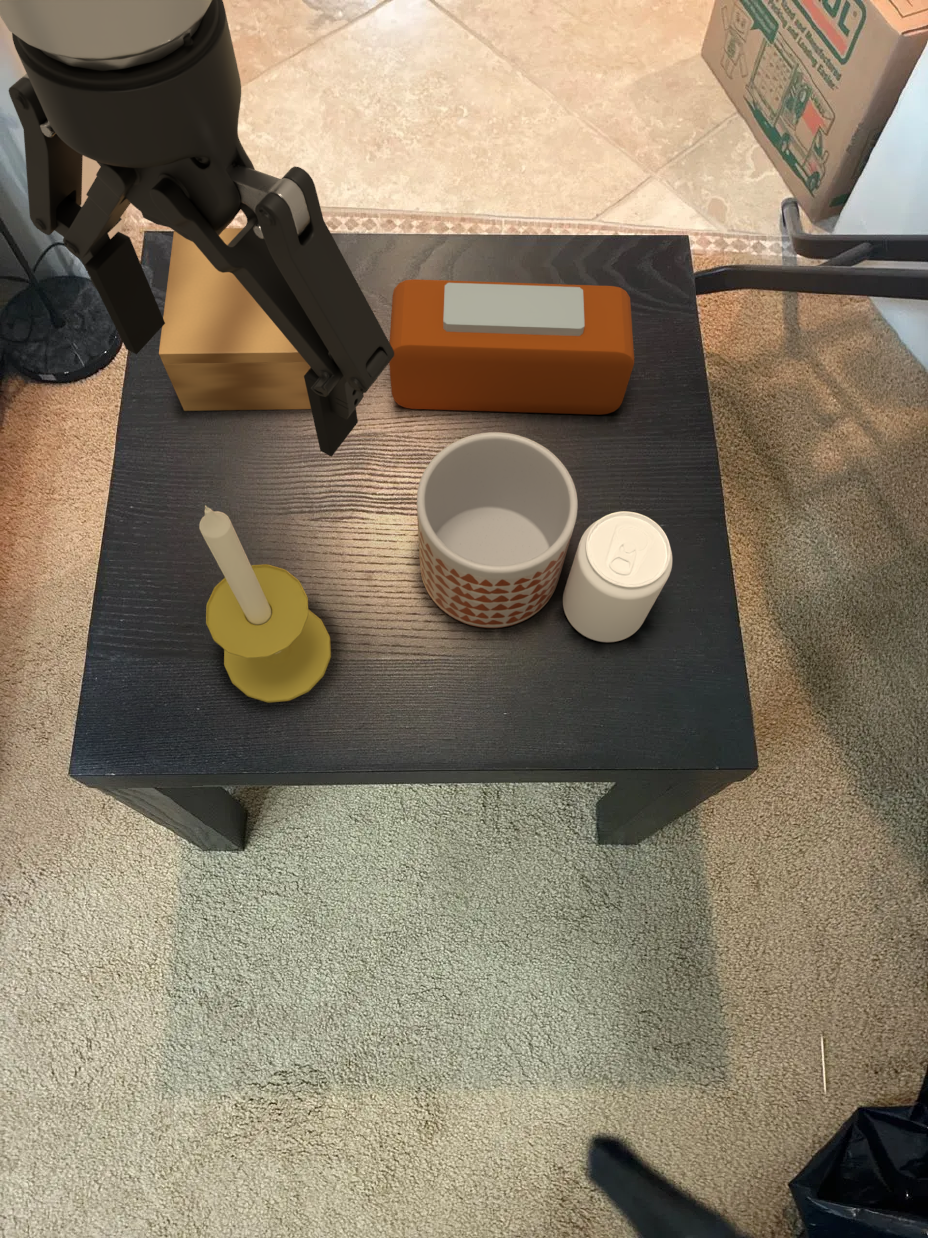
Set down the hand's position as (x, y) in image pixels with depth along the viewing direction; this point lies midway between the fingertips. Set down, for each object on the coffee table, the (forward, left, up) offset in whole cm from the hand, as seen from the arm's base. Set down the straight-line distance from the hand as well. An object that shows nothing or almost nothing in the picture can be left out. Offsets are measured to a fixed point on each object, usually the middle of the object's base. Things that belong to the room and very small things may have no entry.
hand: (240, 385), depth 50 cm
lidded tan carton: (-27, +18, -35) cm, 48 cm away
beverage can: (+19, +19, -35) cm, 45 cm away
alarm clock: (-5, +33, -35) cm, 49 cm away
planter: (+8, +15, -35) cm, 39 cm away
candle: (-1, -5, -35) cm, 36 cm away
